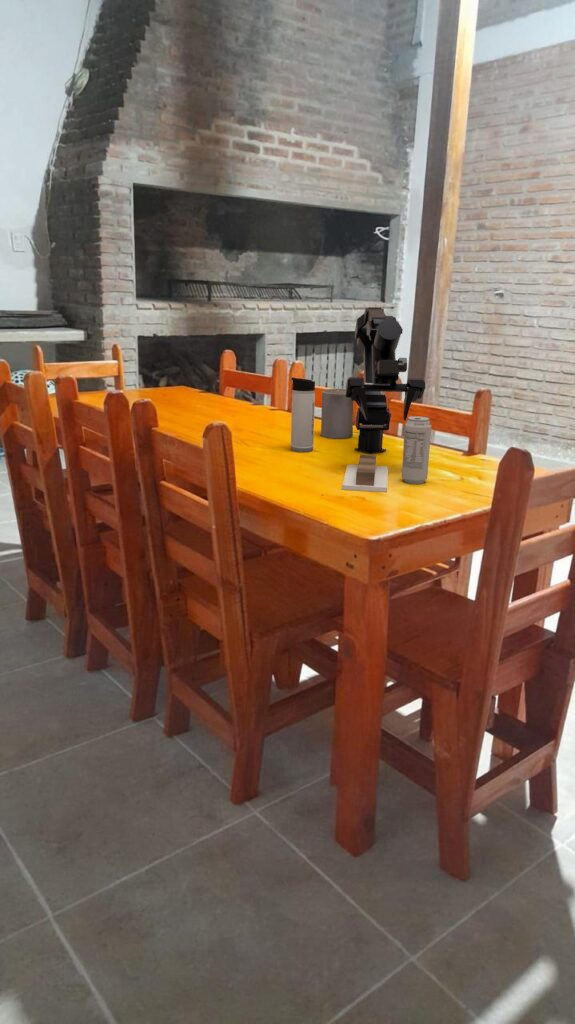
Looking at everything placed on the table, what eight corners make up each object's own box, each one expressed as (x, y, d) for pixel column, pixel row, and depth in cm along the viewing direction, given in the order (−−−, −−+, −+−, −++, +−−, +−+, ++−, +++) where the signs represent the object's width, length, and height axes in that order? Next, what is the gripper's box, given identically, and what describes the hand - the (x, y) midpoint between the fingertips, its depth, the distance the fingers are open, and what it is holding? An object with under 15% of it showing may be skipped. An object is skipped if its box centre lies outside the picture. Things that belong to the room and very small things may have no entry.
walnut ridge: (359, 466, 179) (360, 454, 178) (375, 467, 178) (376, 455, 177) (355, 484, 162) (356, 471, 161) (373, 485, 161) (374, 472, 160)
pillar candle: (334, 431, 227) (336, 383, 222) (359, 436, 220) (360, 387, 216) (314, 436, 220) (315, 386, 216) (338, 440, 214) (339, 390, 209)
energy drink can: (431, 481, 170) (436, 418, 166) (418, 485, 166) (423, 421, 161) (409, 476, 174) (414, 415, 169) (396, 481, 170) (400, 418, 165)
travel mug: (286, 448, 202) (287, 376, 196) (307, 447, 204) (309, 375, 198) (295, 453, 196) (296, 379, 190) (316, 451, 199) (319, 378, 193)
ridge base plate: (347, 468, 180) (347, 464, 180) (387, 470, 179) (387, 466, 179) (342, 489, 161) (342, 485, 161) (386, 492, 160) (387, 487, 160)
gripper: (349, 343, 169) (350, 403, 164) (428, 345, 170) (431, 404, 165) (344, 368, 180) (345, 424, 175) (419, 369, 180) (422, 426, 175)
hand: (386, 419), depth 172 cm, fingers open, 9 cm apart
